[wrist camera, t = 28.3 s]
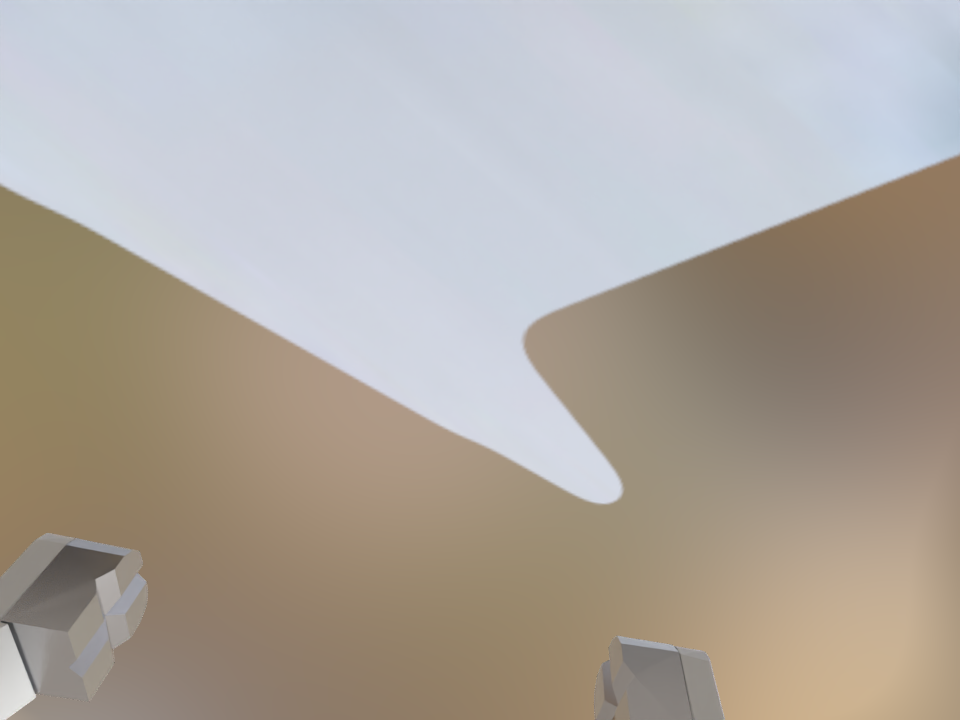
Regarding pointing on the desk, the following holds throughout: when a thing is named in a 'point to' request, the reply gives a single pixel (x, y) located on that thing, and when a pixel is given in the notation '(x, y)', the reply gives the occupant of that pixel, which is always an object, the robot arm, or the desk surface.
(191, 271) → the desk surface
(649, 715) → the robot arm
